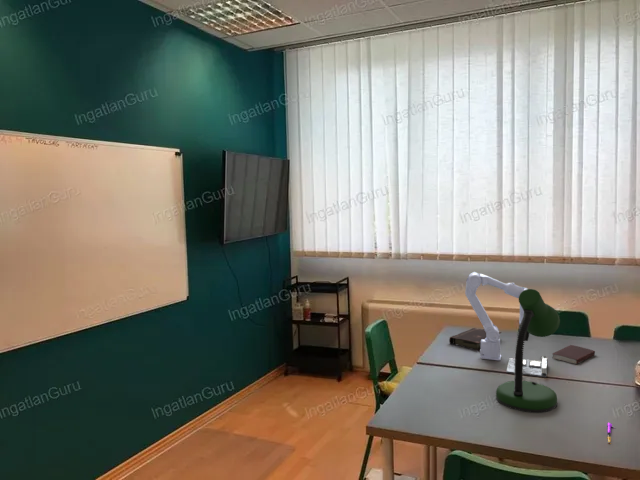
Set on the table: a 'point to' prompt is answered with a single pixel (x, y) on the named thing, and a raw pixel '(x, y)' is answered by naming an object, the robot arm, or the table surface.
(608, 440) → the purple handled tool
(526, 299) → the desk lamp
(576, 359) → the book
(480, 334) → the diary
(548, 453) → the table surface
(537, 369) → the server tray
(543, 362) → the cable arm
